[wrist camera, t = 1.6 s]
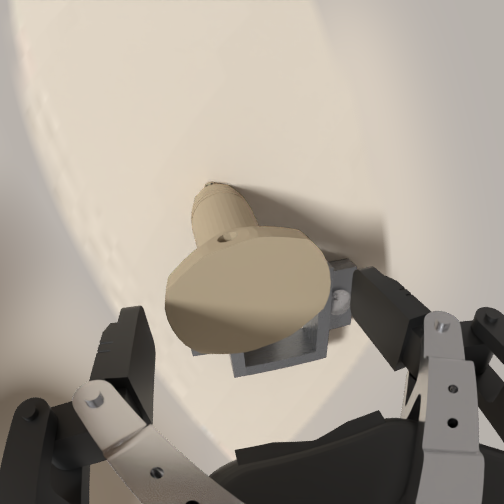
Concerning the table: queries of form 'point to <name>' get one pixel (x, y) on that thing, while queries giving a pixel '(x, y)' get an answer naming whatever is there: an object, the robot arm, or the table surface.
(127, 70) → the table surface
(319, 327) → the chain end
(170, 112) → the table surface
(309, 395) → the table surface
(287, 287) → the handle
